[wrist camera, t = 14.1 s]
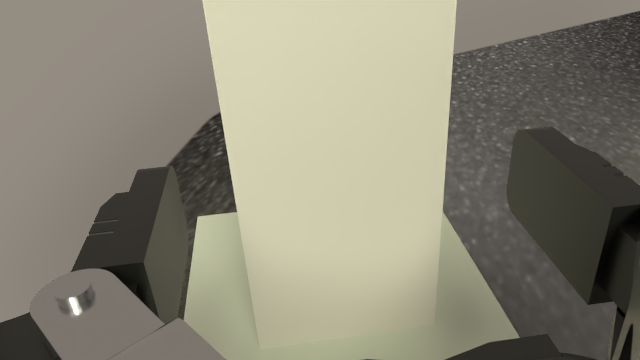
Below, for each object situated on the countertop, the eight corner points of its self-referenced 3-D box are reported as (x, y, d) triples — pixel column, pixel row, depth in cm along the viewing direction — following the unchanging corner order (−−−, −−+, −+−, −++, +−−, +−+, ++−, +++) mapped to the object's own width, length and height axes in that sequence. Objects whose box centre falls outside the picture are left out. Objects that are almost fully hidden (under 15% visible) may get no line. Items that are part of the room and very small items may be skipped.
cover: (392, 226, 25) (396, -87, 18) (434, 325, 19) (462, -75, 13) (256, 242, 24) (209, -74, 18) (259, 348, 19) (193, -54, 12)
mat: (428, 205, 28) (429, 189, 27) (538, 395, 18) (542, 374, 17) (201, 232, 27) (197, 216, 26) (174, 450, 17) (168, 431, 16)
